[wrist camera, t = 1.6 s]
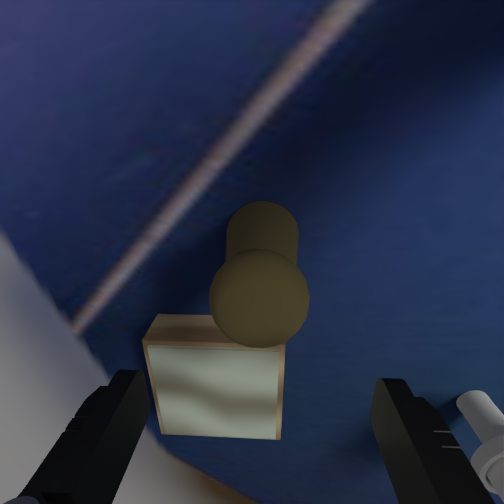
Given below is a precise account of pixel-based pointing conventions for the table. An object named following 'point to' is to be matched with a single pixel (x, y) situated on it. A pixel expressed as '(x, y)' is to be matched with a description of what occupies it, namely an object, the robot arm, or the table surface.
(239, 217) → the cork
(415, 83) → the table surface
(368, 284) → the table surface
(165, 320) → the base block
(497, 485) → the grey mechanical part
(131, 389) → the robot arm
